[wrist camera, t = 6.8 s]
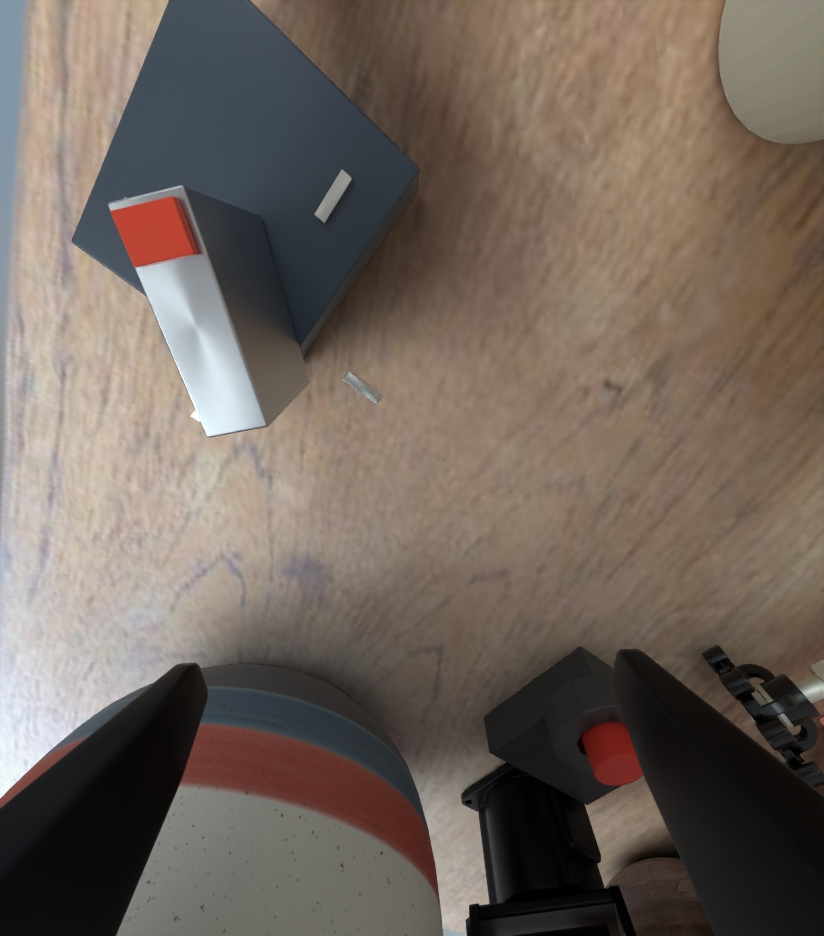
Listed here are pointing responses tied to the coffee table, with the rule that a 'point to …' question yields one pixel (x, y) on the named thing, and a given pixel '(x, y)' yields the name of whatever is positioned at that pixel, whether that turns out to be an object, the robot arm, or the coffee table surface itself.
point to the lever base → (255, 155)
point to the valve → (777, 707)
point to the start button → (611, 754)
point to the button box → (557, 724)
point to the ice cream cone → (775, 67)
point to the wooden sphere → (662, 899)
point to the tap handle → (215, 304)
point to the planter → (282, 819)
